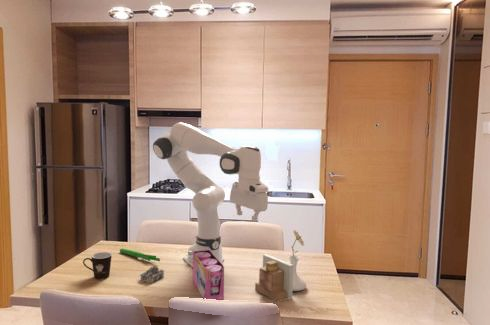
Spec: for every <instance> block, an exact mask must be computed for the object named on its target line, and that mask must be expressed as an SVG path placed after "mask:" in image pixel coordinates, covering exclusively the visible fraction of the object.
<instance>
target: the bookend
mask: <svg viewBox="0 0 490 325" xmlns="http://www.w3.org/2000/svg"><path fill="white" fill-rule="evenodd" d="M270 261H276V262H277V268H278V269H281V270H283V271H284V275H283V290H281V291H278V292H275V293H270V292H269V291H267V290H265V289H263V288H261V287H259V281H257V282H255V283H254V290H256V291H257V292H259V293H261V294H263V295H264V296H267V297H269V298H271V299H272V300H274V301H276V302H277V303H278V302H281V301H284V300H290V299H292V298H293V291H292V289H293V264H291V262H287V261H285V260H283V259H280V258H278V257H276V256H272V255H270V254H269V253H268V254H267V253H265V254H263V255H262V267H265V266H266V262H270Z"/></svg>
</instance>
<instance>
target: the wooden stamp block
mask: <svg viewBox="0 0 490 325" xmlns="http://www.w3.org/2000/svg"><path fill="white" fill-rule="evenodd" d="M283 275H284V271H283V270H281V269H278V268H277V262H276V261H270V262H266V266H265V267H263V266H262V267H259V275H258V276H259V278H258V282H259V287H261V288H263V289H265V290H267V291H269V292H270V293H275V292H278V291H281V290H283Z"/></svg>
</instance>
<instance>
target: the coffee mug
mask: <svg viewBox="0 0 490 325" xmlns="http://www.w3.org/2000/svg"><path fill="white" fill-rule="evenodd" d="M86 260H89V261H90V262H91V263H92V265H91V266H92V268H91V267H90V266H87V264H86V263H85V262H86ZM82 263H83V266H84V267H86V268H87V269H89V270H91V271H92V272H93V278H94V279H95V280H106V279H108V278H110V274H111V272H110V271H111V264H112V253H111V252H109V251H102V252H96V253H93V254H91V258H90V257H86V258H84V259H83V261H82Z"/></svg>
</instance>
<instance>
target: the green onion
mask: <svg viewBox="0 0 490 325" xmlns="http://www.w3.org/2000/svg"><path fill="white" fill-rule="evenodd" d="M119 254H124V255H128V256H132V257H136V258H137V260H138V261H139V260H140V261H143V260H146V261H148V262H150V261H157V262H161V259H160V258H158V257H157V255H152V254H151V255H150V254H145V253H143V252H140V251H135V250H132V249H127V248H120V249H119Z"/></svg>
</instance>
